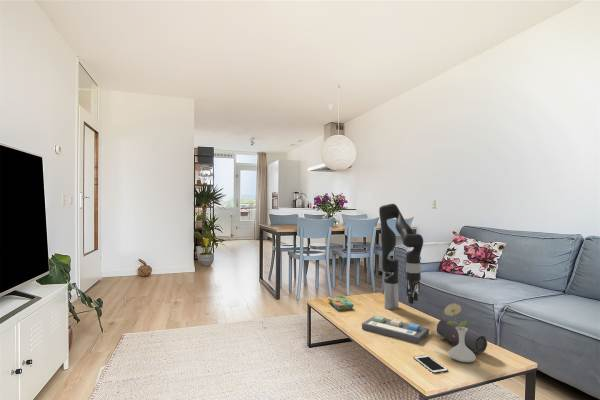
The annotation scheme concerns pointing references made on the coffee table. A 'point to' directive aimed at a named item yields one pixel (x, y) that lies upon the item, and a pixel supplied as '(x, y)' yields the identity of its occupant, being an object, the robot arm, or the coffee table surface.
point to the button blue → (414, 327)
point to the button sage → (379, 319)
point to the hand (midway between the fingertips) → (413, 301)
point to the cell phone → (430, 364)
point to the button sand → (396, 323)
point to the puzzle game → (340, 303)
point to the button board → (396, 330)
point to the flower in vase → (460, 350)
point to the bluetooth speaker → (472, 338)
